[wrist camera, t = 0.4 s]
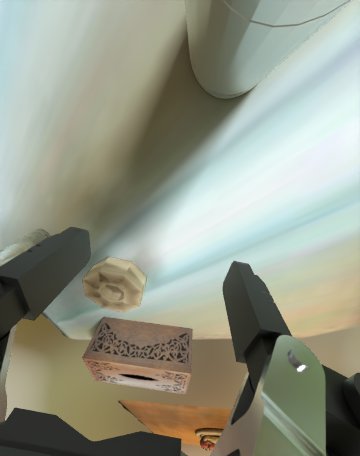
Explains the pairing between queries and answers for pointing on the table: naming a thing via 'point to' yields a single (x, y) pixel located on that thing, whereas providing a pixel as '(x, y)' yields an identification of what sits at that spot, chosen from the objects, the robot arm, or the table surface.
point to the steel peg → (22, 245)
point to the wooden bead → (115, 284)
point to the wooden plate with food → (208, 437)
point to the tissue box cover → (141, 355)
